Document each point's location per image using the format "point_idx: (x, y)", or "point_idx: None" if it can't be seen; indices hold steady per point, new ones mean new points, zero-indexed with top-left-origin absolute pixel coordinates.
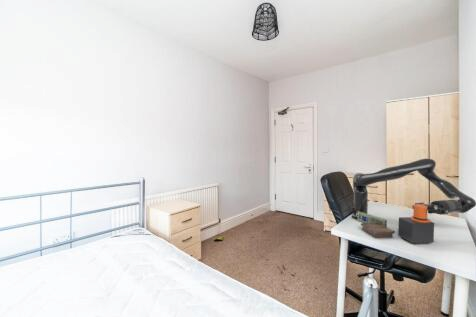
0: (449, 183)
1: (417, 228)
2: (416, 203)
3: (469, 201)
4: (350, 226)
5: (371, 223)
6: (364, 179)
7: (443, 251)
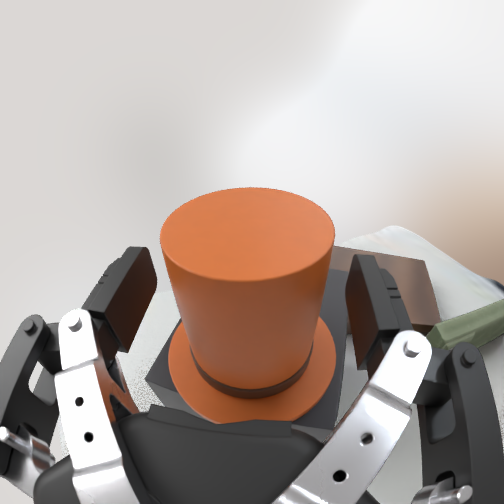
0: None
1: None
2: (464, 358)
3: None
4: (438, 270)
5: (428, 292)
6: None
7: (130, 390)
